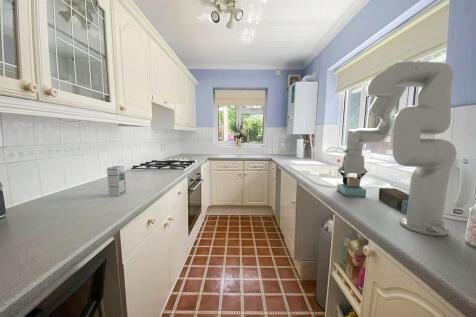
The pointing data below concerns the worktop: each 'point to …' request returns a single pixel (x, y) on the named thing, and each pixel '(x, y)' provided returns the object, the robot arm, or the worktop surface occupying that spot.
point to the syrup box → (116, 180)
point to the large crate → (351, 190)
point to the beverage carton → (394, 198)
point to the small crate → (353, 182)
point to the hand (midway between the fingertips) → (351, 184)
